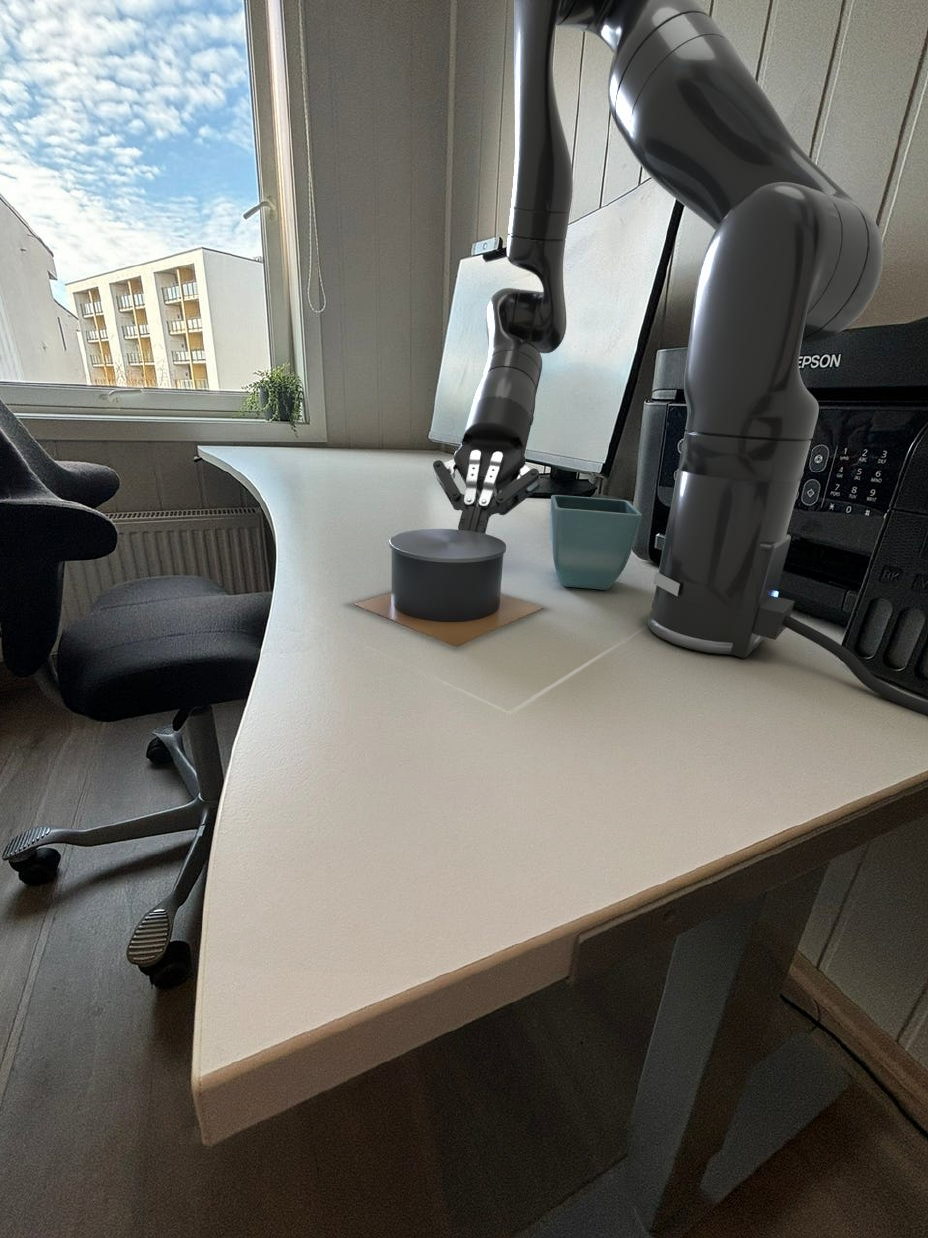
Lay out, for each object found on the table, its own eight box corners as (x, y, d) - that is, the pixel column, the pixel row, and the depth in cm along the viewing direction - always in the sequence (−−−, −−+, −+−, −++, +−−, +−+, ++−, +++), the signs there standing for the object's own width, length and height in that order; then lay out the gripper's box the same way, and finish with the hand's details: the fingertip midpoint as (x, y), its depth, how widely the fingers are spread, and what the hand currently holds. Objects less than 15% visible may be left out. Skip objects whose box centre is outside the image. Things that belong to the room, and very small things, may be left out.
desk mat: (543, 609, 55) (543, 607, 55) (456, 647, 46) (456, 645, 46) (445, 577, 63) (445, 576, 63) (353, 605, 54) (353, 603, 54)
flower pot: (616, 574, 68) (628, 499, 64) (629, 599, 59) (643, 514, 56) (542, 568, 68) (550, 493, 65) (545, 592, 60) (554, 508, 57)
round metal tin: (522, 600, 57) (527, 542, 55) (457, 633, 48) (460, 566, 46) (436, 577, 63) (438, 523, 60) (365, 602, 54) (364, 541, 52)
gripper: (442, 390, 66) (403, 514, 60) (555, 397, 63) (527, 527, 57) (453, 435, 73) (419, 550, 66) (555, 443, 70) (530, 564, 63)
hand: (469, 540), depth 62 cm, fingers closed
